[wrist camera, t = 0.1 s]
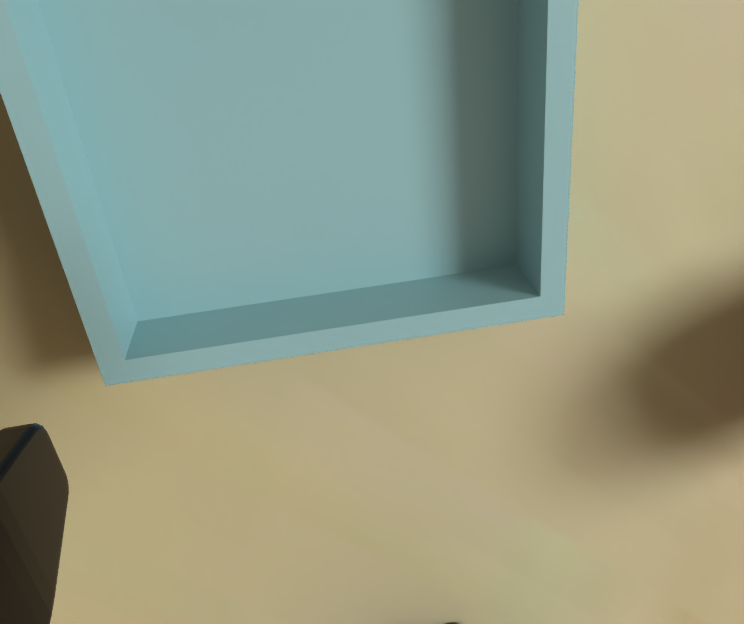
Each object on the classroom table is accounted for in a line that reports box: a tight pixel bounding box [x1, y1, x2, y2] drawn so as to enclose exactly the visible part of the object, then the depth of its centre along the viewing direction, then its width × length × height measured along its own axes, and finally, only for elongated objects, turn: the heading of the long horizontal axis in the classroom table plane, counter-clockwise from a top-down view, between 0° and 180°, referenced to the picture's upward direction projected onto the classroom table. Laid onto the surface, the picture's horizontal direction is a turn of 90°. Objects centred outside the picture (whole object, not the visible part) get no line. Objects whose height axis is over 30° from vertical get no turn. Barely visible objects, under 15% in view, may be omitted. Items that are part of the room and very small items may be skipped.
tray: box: [0, 0, 578, 386], centre depth 19 cm, size 15×15×3 cm
